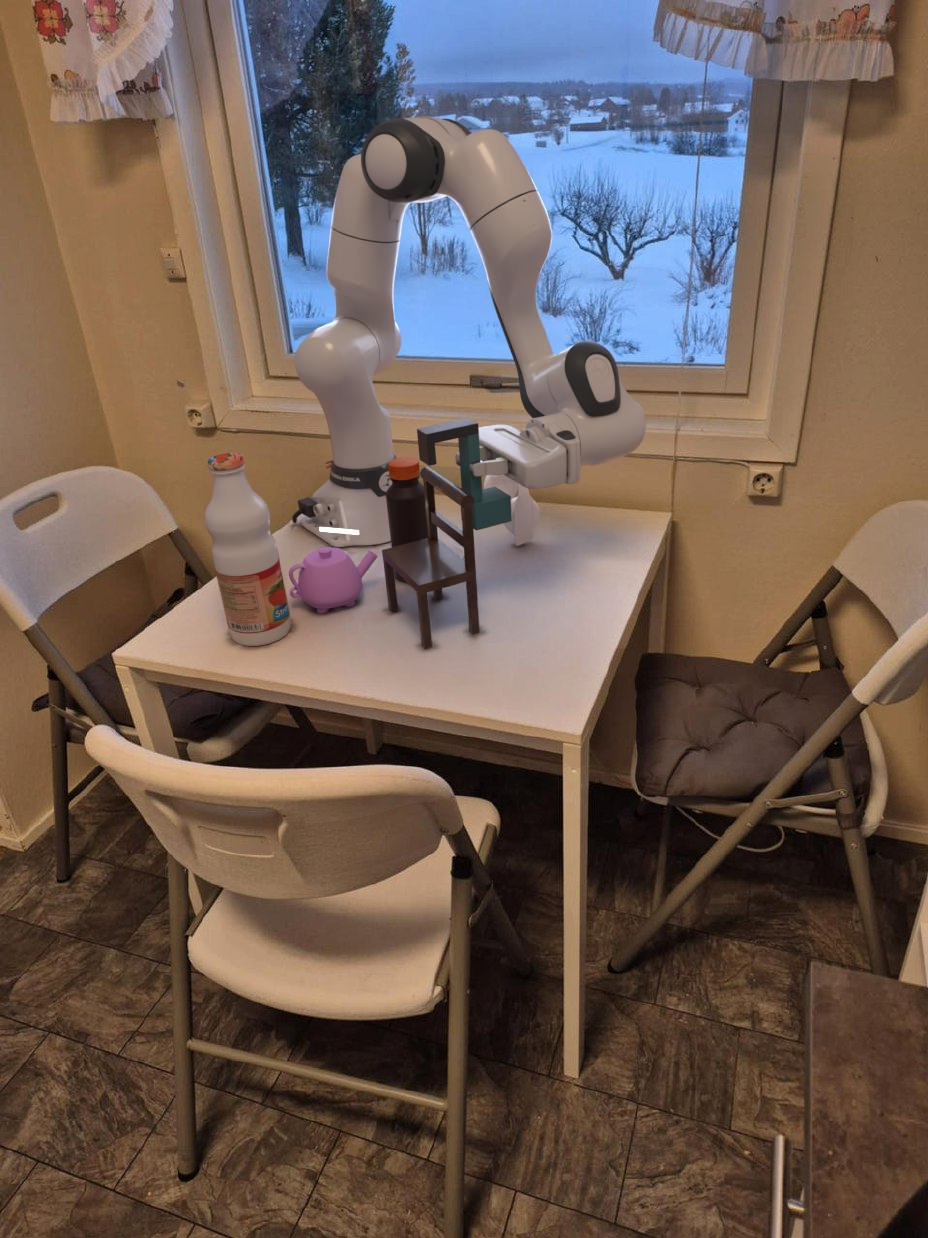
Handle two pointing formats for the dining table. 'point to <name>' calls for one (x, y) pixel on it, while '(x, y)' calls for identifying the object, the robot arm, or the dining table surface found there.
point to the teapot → (329, 578)
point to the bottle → (406, 503)
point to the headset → (517, 507)
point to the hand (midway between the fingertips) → (464, 465)
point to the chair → (436, 556)
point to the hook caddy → (467, 470)
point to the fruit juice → (245, 556)
